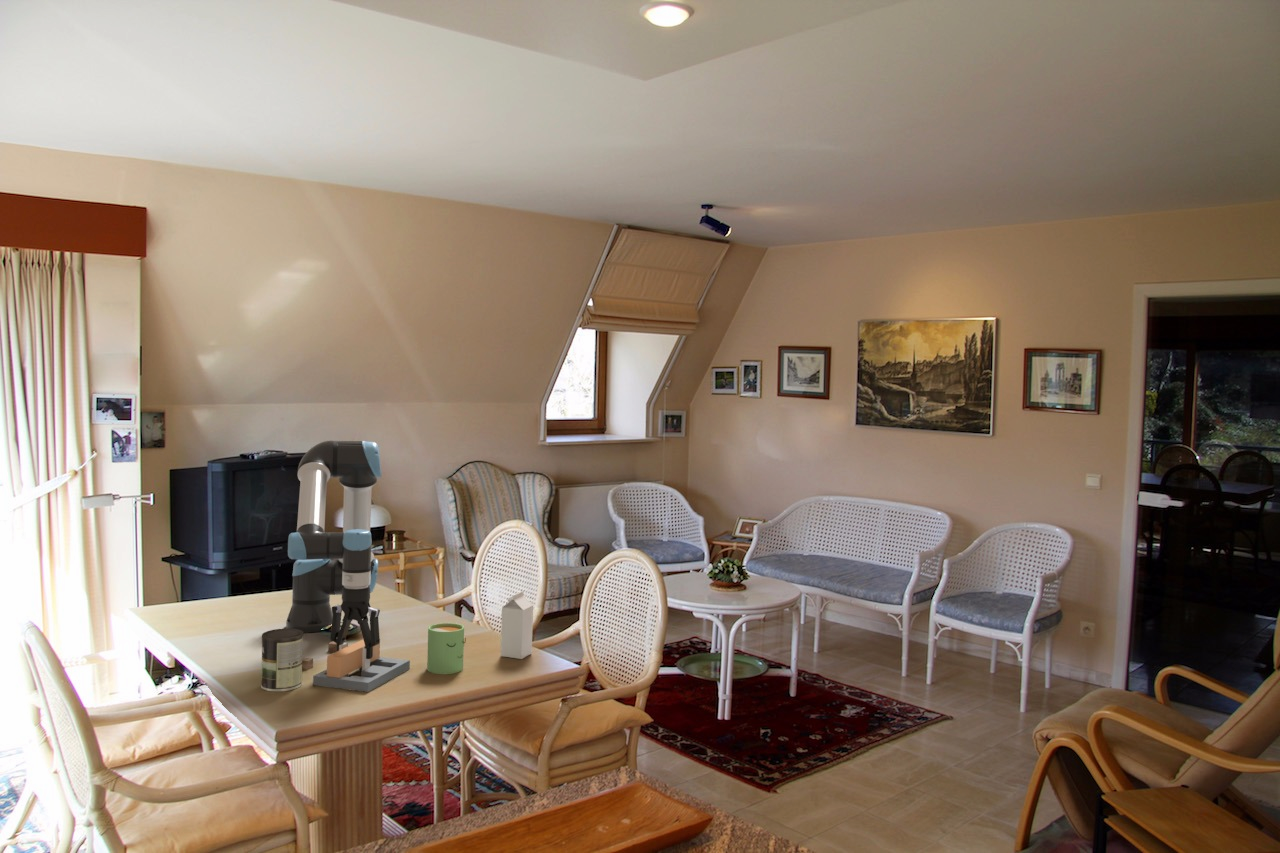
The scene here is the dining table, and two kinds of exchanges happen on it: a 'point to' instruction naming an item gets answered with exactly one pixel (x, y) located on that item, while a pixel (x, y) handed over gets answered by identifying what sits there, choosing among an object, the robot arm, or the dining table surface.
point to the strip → (348, 659)
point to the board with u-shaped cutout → (366, 675)
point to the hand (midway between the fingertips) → (354, 668)
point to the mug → (445, 648)
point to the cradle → (308, 662)
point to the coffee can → (281, 660)
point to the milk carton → (517, 627)
